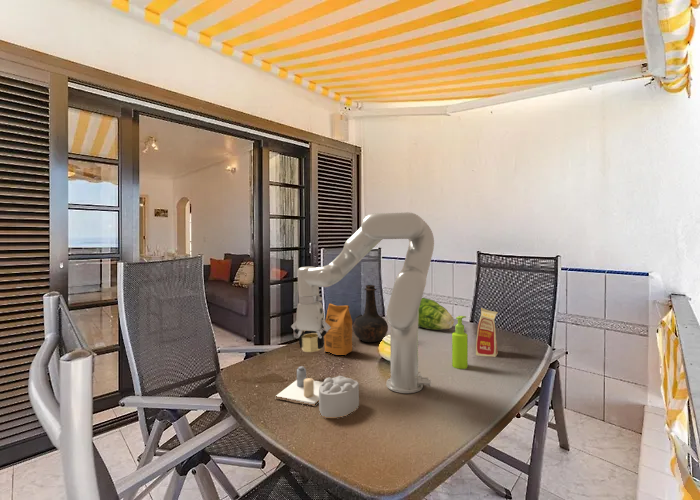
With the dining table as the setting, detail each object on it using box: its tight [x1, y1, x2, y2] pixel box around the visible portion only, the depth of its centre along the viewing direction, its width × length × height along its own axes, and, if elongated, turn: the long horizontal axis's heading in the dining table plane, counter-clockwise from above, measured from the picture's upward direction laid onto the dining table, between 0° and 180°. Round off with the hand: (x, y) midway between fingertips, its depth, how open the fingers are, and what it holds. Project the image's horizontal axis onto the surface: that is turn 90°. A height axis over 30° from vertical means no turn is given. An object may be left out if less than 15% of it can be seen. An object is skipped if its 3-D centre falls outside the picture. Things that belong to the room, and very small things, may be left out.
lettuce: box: [418, 297, 455, 331], centre depth 196 cm, size 17×23×16 cm
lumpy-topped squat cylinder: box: [318, 375, 360, 417], centre depth 107 cm, size 10×13×9 cm
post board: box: [275, 365, 324, 404], centre depth 118 cm, size 14×15×8 cm
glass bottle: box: [352, 284, 389, 343], centre depth 177 cm, size 18×18×28 cm
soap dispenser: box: [451, 315, 469, 370], centre depth 140 cm, size 6×7×20 cm
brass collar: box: [301, 332, 323, 353], centre depth 131 cm, size 7×7×5 cm
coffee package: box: [323, 303, 353, 356], centre depth 158 cm, size 10×12×22 cm
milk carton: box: [475, 307, 499, 358], centre depth 155 cm, size 9×9×20 cm
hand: (311, 346), depth 131 cm, fingers closed on brass collar, 6 cm apart
